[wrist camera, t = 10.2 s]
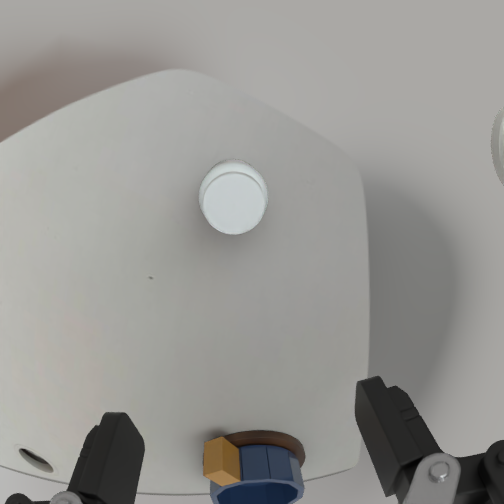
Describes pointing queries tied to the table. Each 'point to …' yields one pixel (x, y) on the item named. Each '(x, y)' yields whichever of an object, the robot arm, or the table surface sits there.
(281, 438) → the turntable
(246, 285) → the table surface
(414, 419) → the robot arm
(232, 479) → the serving bowl
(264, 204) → the pill bottle
